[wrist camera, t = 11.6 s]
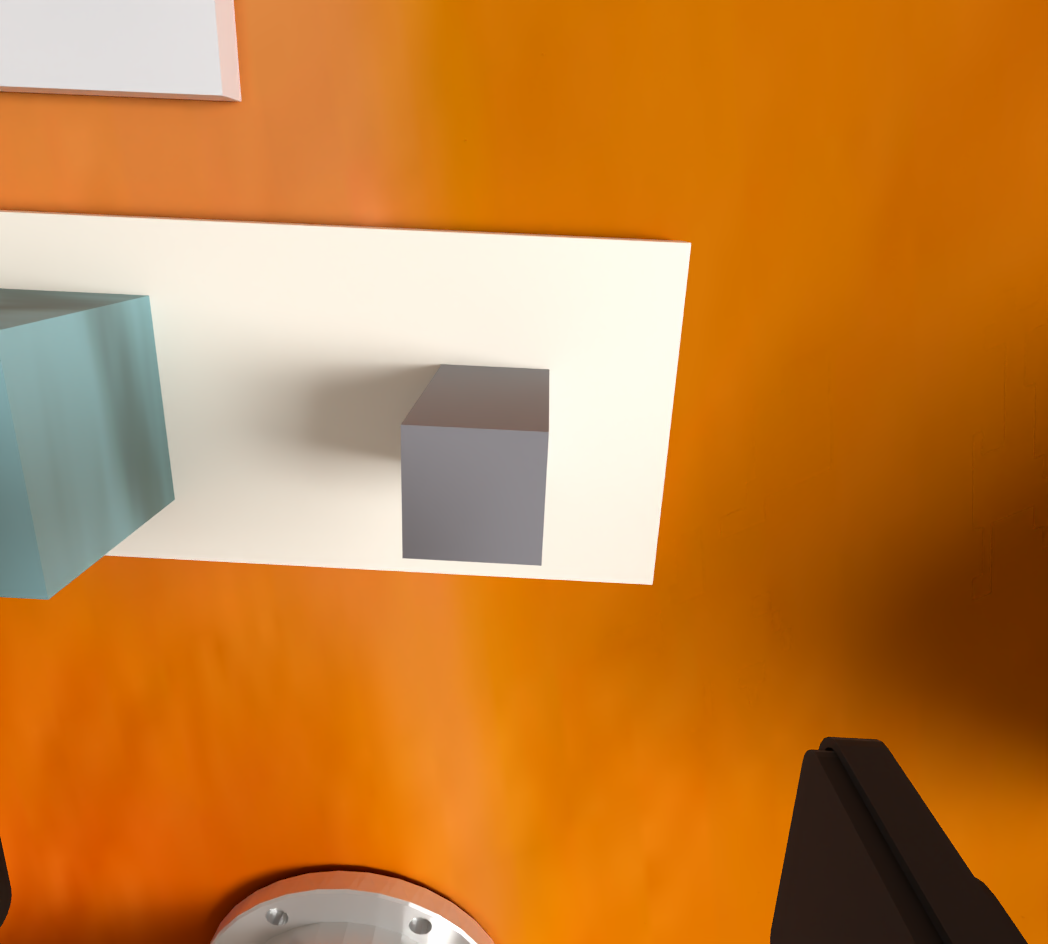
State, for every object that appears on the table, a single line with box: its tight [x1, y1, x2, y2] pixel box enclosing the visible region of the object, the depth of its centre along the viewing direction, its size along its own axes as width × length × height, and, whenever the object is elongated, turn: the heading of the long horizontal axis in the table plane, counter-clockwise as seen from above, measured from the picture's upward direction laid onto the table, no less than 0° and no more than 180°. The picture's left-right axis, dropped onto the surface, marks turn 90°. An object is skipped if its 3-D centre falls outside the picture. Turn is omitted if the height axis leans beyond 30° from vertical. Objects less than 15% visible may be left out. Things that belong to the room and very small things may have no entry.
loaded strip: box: [0, 210, 691, 585], centre depth 19 cm, size 22×10×7 cm, turn 88°
